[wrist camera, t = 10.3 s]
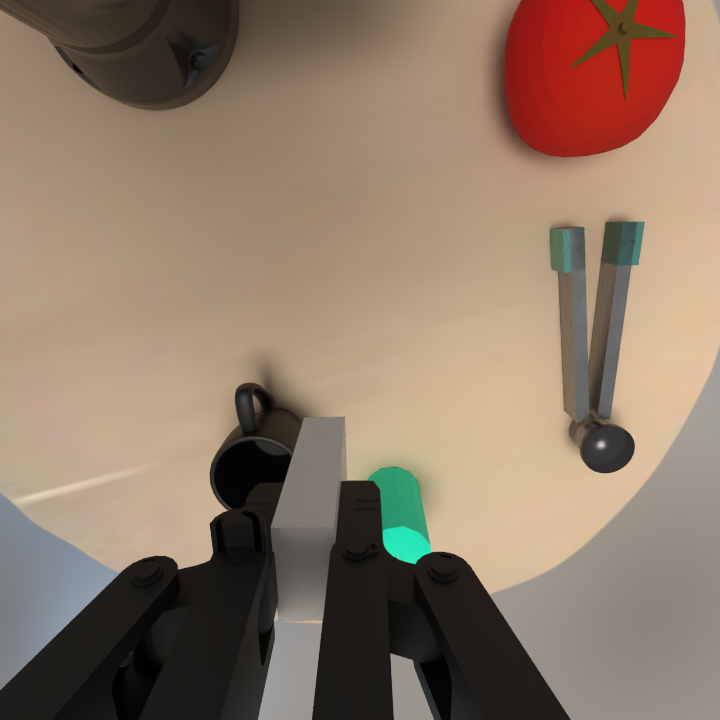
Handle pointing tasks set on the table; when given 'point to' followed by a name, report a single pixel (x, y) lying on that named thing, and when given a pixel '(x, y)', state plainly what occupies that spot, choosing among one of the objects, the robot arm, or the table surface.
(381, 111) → the table surface
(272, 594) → the robot arm
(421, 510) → the candle
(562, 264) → the bar
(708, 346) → the table surface
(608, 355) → the tongs fixed
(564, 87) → the tomato
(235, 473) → the mug
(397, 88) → the table surface
